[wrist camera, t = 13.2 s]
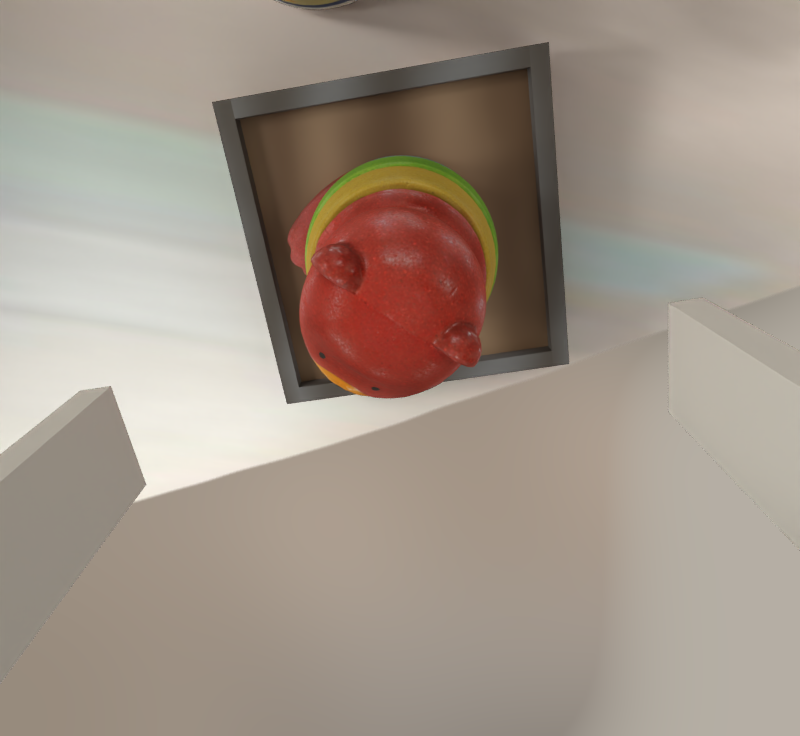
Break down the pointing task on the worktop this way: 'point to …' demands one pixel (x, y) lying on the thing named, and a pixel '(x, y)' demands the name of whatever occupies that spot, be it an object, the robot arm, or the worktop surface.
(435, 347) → the stacking bear
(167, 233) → the worktop surface
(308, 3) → the supplement tub
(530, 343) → the square tray
